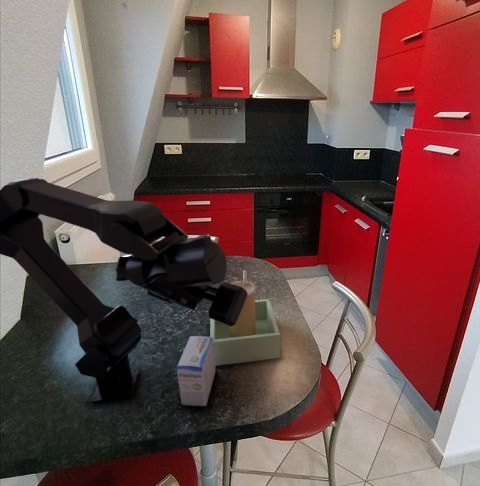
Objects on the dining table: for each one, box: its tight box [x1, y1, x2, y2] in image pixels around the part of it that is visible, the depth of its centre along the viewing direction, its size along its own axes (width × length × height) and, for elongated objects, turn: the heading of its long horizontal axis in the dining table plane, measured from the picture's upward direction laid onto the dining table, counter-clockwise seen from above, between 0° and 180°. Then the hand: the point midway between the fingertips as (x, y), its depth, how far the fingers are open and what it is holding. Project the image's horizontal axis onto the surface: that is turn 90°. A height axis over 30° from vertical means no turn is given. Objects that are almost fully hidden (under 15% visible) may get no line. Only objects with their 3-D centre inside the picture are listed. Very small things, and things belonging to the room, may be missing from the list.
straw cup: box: [230, 269, 256, 338], centre depth 69 cm, size 6×6×15 cm
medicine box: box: [176, 335, 216, 407], centre depth 57 cm, size 8×4×9 cm, turn 178°
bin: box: [209, 298, 281, 367], centre depth 70 cm, size 14×14×6 cm
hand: (219, 305), depth 62 cm, fingers open, 9 cm apart
